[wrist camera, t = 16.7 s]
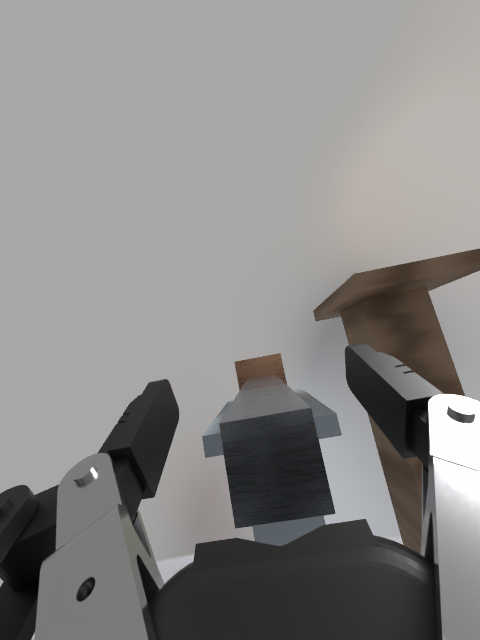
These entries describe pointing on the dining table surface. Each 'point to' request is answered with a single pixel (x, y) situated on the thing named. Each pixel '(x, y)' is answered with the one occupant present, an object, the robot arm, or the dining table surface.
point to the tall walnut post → (402, 352)
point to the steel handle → (272, 449)
